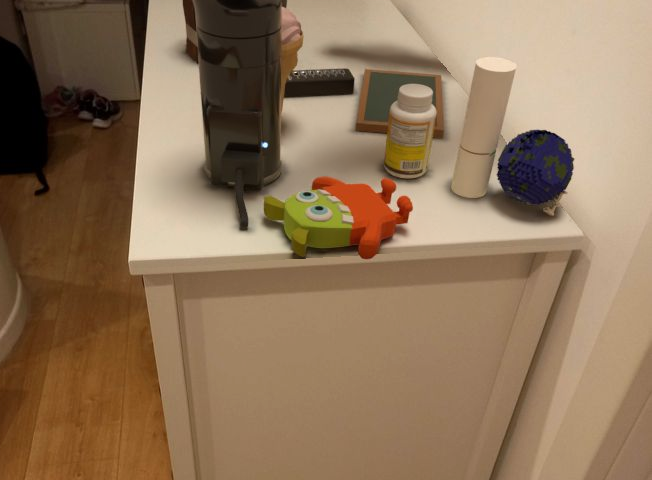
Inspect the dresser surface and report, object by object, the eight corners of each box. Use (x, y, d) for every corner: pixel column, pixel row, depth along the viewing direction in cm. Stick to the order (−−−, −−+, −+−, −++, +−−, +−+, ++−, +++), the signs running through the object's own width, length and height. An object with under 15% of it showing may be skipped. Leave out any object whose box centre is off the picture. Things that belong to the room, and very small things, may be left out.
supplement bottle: (402, 155, 90) (413, 76, 83) (435, 171, 87) (450, 91, 80) (373, 168, 87) (382, 88, 80) (407, 185, 84) (419, 103, 77)
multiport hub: (354, 94, 104) (355, 78, 103) (282, 97, 103) (283, 81, 101) (347, 82, 108) (348, 67, 106) (278, 85, 106) (278, 70, 104)
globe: (527, 212, 84) (557, 155, 84) (565, 217, 77) (599, 154, 76) (477, 181, 82) (508, 122, 81) (511, 183, 75) (546, 118, 74)
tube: (463, 200, 82) (491, 73, 72) (444, 183, 85) (468, 59, 75) (493, 194, 83) (524, 68, 73) (473, 177, 86) (500, 55, 76)
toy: (436, 221, 71) (300, 243, 67) (428, 254, 74) (298, 277, 69) (375, 158, 81) (254, 173, 77) (371, 189, 84) (254, 205, 80)
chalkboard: (442, 138, 94) (444, 129, 93) (355, 130, 95) (356, 122, 94) (440, 82, 109) (441, 74, 108) (364, 76, 110) (365, 68, 109)
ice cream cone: (312, 117, 98) (318, -40, 84) (282, 150, 90) (284, -18, 77) (242, 104, 100) (237, -51, 87) (207, 134, 93) (196, -30, 79)
